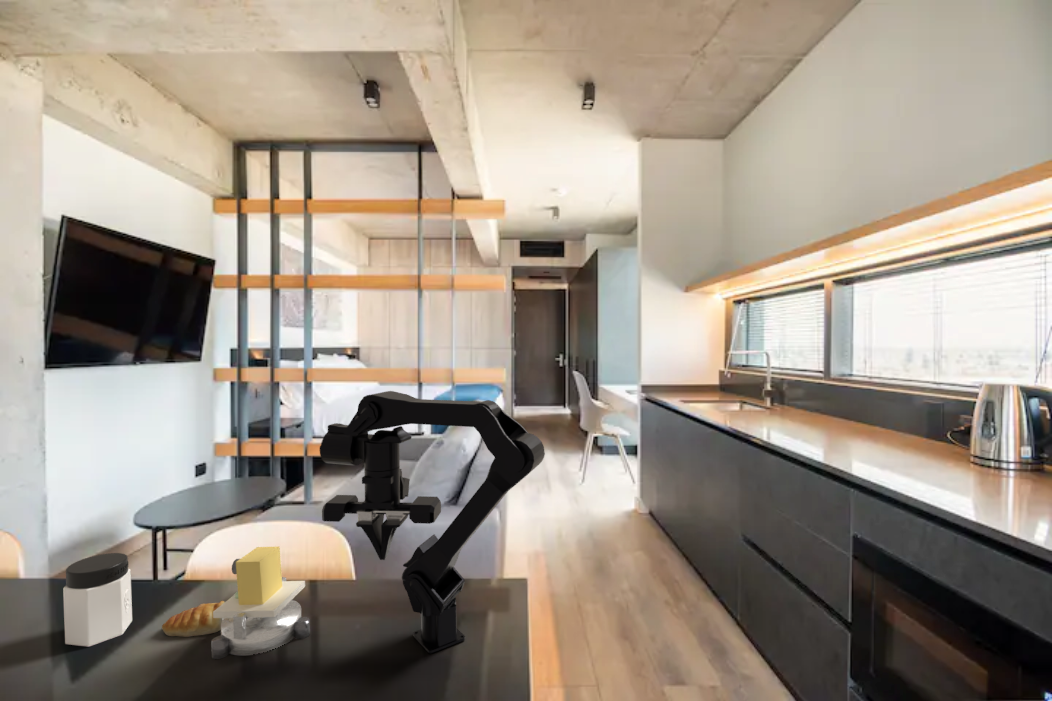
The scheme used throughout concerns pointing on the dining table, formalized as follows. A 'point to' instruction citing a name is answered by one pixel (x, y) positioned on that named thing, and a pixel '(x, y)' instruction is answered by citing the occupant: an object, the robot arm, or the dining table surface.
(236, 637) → the tribrach base
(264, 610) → the instrument
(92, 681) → the dining table surface
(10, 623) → the dining table surface
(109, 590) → the jar
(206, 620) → the pastry
